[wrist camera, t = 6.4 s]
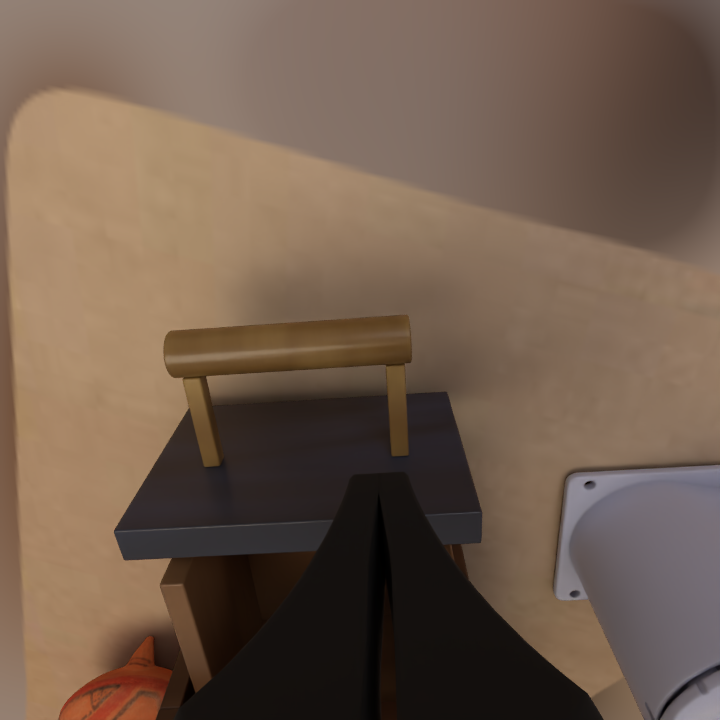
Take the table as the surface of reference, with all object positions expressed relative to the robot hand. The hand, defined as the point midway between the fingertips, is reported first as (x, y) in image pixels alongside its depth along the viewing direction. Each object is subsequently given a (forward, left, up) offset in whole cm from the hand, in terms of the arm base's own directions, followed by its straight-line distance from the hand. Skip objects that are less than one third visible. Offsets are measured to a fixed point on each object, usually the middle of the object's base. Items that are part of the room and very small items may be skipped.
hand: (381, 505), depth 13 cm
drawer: (+3, +6, -9) cm, 11 cm away
